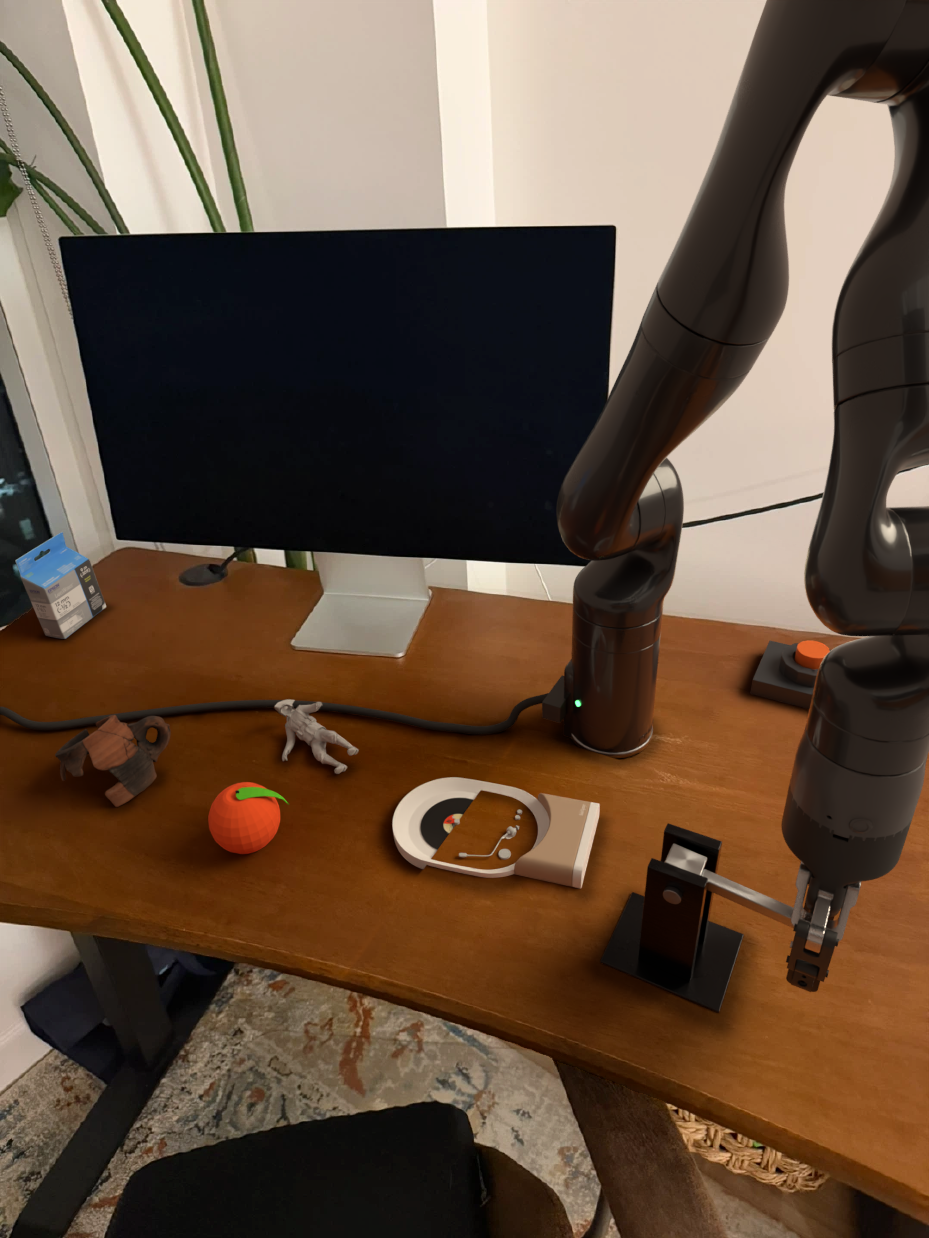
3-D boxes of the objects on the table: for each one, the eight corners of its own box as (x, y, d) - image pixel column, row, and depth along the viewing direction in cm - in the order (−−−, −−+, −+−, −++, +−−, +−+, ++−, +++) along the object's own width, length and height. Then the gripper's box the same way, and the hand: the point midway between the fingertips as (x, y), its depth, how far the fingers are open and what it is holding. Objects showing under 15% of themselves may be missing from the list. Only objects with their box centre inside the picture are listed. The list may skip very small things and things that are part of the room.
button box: (750, 694, 101) (754, 667, 99) (767, 654, 108) (771, 628, 105) (848, 719, 96) (855, 692, 94) (860, 676, 103) (866, 649, 101)
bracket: (742, 942, 73) (763, 840, 66) (717, 1020, 67) (738, 917, 60) (631, 899, 77) (640, 799, 70) (599, 969, 72) (605, 867, 65)
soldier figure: (320, 796, 92) (244, 731, 96) (340, 794, 97) (266, 732, 100) (360, 737, 92) (282, 674, 96) (378, 738, 96) (303, 678, 100)
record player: (578, 882, 75) (372, 839, 81) (578, 905, 77) (376, 861, 83) (601, 791, 85) (415, 758, 90) (601, 813, 86) (417, 780, 92)
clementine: (297, 810, 89) (286, 760, 85) (295, 861, 83) (283, 810, 79) (219, 821, 88) (205, 771, 84) (212, 873, 82) (196, 822, 79)
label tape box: (65, 640, 119) (36, 564, 112) (42, 636, 120) (12, 560, 113) (108, 608, 125) (83, 534, 119) (86, 604, 127) (60, 530, 120)
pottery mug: (92, 828, 89) (44, 766, 87) (94, 806, 98) (49, 749, 95) (193, 759, 92) (148, 698, 90) (185, 743, 101) (144, 687, 99)
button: (791, 665, 100) (794, 653, 99) (797, 649, 102) (800, 637, 101) (824, 673, 98) (826, 661, 97) (829, 656, 101) (832, 644, 100)
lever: (823, 914, 65) (833, 895, 64) (811, 966, 61) (821, 947, 60) (672, 849, 69) (678, 830, 68) (653, 894, 66) (658, 874, 64)
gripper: (811, 711, 62) (777, 869, 71) (768, 847, 52) (735, 1011, 61) (924, 740, 59) (874, 901, 68) (903, 891, 48) (847, 1057, 58)
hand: (808, 953), depth 64 cm, fingers closed on lever, 5 cm apart
